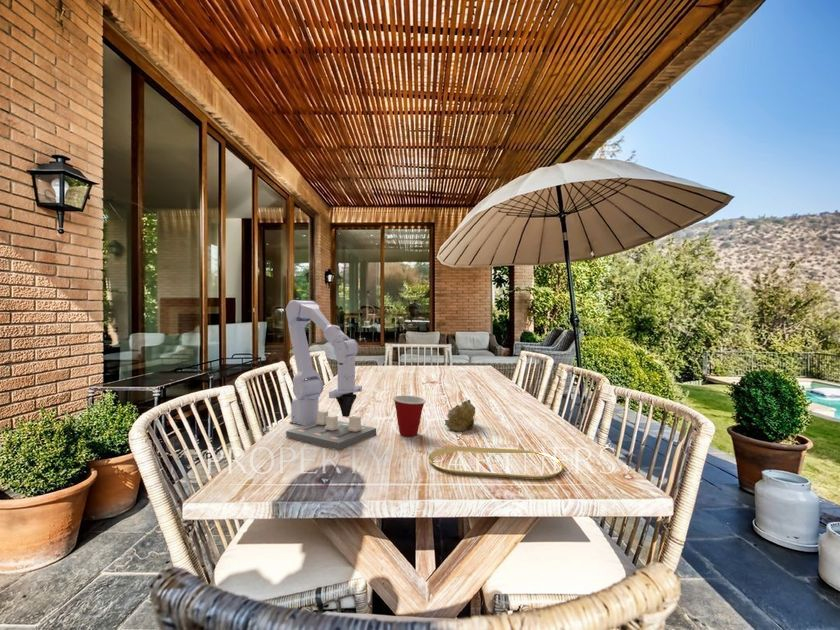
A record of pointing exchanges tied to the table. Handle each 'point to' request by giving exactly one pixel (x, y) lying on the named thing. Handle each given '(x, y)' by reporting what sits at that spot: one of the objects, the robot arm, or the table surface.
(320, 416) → the left switch
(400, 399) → the plastic cup
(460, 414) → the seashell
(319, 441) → the switch panel
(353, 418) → the right switch
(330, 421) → the switch
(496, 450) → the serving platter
